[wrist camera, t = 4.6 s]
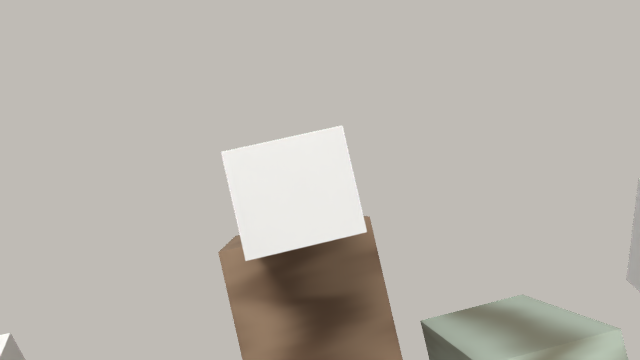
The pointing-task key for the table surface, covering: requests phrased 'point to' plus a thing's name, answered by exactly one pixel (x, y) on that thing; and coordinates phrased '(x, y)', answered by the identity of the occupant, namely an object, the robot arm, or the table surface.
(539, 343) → the wooden boards
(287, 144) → the white block
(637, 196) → the robot arm
